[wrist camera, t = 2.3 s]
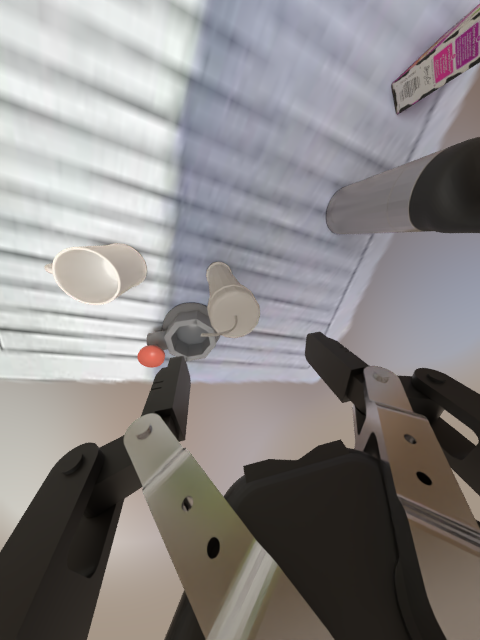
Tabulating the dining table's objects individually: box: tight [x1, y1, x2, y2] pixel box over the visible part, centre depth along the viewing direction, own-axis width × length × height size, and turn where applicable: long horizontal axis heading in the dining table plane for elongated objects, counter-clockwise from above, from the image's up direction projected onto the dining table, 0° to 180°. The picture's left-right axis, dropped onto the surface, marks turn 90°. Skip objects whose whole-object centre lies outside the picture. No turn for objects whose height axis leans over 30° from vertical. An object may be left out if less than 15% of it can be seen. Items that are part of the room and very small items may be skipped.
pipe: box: [201, 262, 260, 338], centre depth 25 cm, size 6×6×30 cm
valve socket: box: [138, 303, 220, 367], centre depth 38 cm, size 17×14×10 cm
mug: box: [45, 243, 147, 305], centre depth 29 cm, size 12×8×12 cm
